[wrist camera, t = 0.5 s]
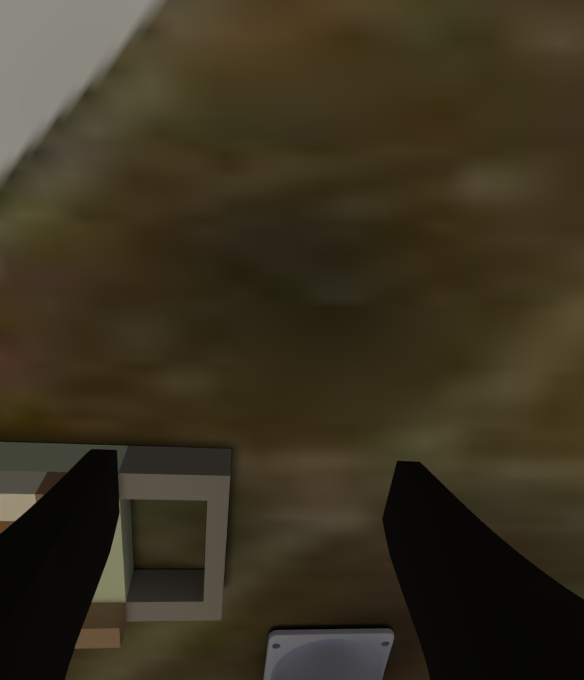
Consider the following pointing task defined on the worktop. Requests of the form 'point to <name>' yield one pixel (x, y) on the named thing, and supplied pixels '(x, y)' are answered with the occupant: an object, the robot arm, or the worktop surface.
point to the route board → (134, 483)
